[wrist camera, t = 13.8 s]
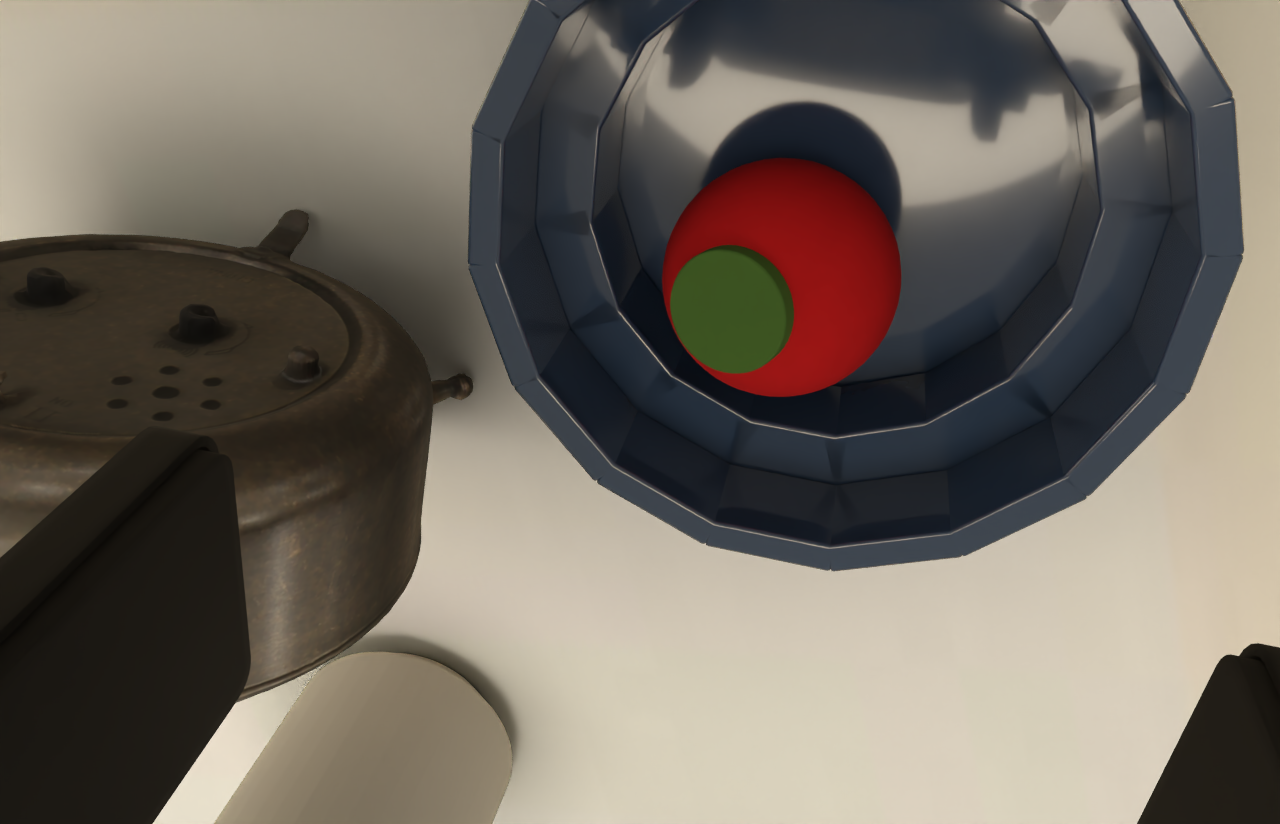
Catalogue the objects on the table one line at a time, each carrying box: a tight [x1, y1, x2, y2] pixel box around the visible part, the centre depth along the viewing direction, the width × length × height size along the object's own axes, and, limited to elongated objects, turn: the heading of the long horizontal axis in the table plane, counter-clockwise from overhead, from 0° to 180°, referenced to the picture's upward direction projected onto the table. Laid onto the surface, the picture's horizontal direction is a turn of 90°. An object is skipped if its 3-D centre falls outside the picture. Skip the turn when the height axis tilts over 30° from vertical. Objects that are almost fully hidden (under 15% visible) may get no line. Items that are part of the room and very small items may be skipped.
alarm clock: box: [0, 209, 473, 702], centre depth 19 cm, size 11×5×16 cm, turn 80°
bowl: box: [468, 0, 1244, 571], centre depth 20 cm, size 12×12×5 cm
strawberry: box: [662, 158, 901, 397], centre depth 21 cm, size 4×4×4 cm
